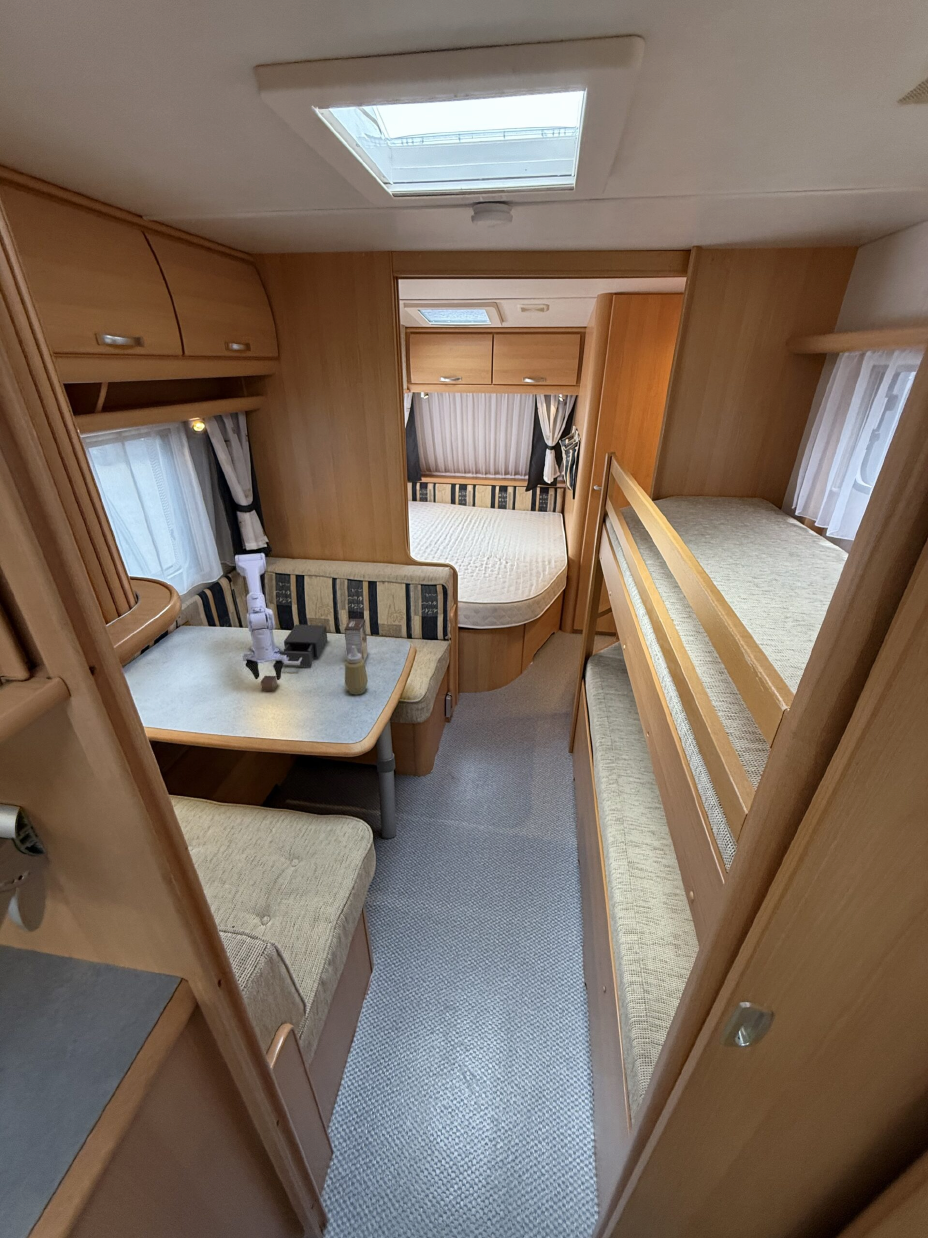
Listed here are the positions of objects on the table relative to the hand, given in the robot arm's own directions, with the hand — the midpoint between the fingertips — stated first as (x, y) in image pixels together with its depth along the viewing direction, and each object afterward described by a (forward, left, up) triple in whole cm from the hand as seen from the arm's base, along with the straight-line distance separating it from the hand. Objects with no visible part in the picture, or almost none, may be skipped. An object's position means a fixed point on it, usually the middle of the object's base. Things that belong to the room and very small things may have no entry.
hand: (268, 678), depth 174 cm
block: (0, 0, -4) cm, 4 cm away
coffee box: (+3, +35, -4) cm, 35 cm away
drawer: (-10, +17, -3) cm, 19 cm away
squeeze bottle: (+21, +23, -4) cm, 31 cm away
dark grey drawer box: (-17, +24, -4) cm, 29 cm away
